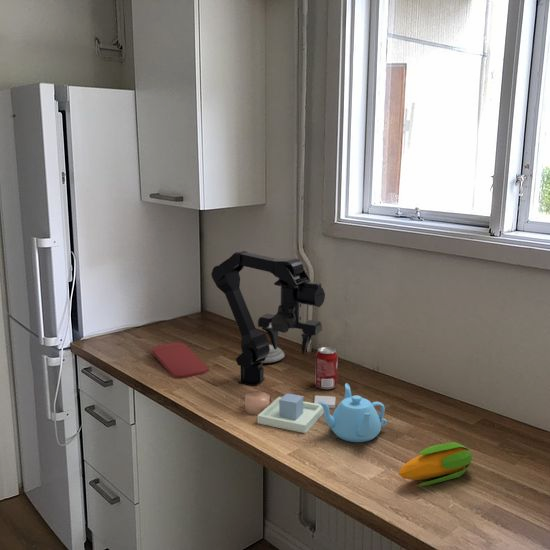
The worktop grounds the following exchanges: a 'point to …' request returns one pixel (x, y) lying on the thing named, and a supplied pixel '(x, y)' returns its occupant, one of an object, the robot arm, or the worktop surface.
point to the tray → (300, 425)
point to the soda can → (326, 368)
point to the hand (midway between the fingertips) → (289, 351)
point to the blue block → (291, 406)
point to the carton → (179, 360)
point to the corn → (438, 463)
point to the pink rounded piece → (256, 402)
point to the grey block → (326, 400)
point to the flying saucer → (274, 355)
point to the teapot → (355, 418)
